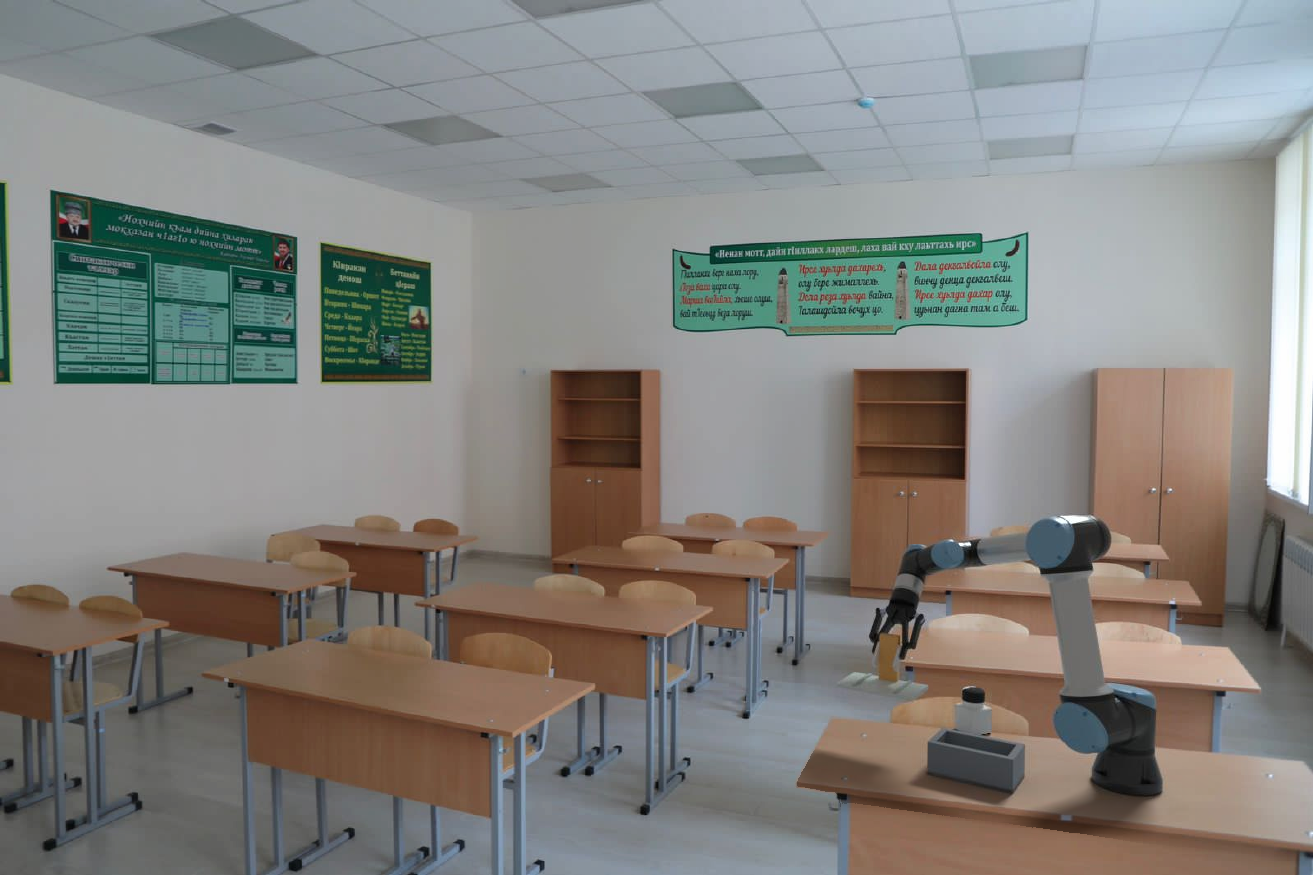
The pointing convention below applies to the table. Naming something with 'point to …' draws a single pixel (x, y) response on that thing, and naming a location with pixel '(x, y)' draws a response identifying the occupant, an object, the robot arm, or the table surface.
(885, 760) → the table surface
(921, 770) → the table surface
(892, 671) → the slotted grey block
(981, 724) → the medicine bottle
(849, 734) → the table surface
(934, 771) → the tub
